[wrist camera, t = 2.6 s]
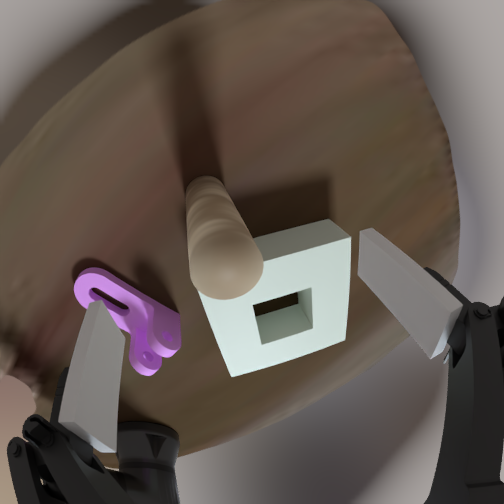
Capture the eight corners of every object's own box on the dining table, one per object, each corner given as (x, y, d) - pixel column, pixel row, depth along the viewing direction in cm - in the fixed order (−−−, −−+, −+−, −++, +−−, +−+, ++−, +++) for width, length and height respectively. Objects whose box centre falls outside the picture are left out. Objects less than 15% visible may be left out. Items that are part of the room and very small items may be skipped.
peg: (191, 218, 28) (201, 307, 16) (181, 181, 26) (180, 247, 14) (229, 208, 28) (268, 288, 16) (221, 171, 26) (257, 227, 14)
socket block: (225, 349, 38) (231, 377, 33) (191, 254, 29) (194, 280, 25) (329, 317, 40) (344, 339, 35) (328, 218, 31) (350, 237, 27)
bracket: (179, 313, 33) (182, 355, 27) (156, 338, 34) (155, 379, 28) (88, 257, 27) (70, 295, 21) (70, 290, 28) (54, 329, 22)
